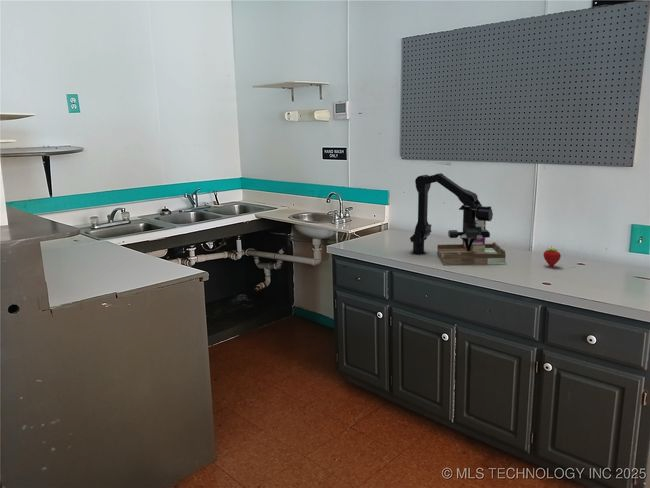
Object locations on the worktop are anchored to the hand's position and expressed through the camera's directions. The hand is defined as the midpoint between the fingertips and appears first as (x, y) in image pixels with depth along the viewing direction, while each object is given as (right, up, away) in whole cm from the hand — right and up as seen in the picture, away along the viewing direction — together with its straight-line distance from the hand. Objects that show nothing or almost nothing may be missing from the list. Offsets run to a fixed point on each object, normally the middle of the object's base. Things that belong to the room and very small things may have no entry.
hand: (468, 251), depth 243 cm
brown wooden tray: (+1, -4, +1) cm, 4 cm away
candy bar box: (+8, 0, +19) cm, 21 cm away
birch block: (+5, -1, 0) cm, 5 cm away
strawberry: (+33, -7, -16) cm, 37 cm away
